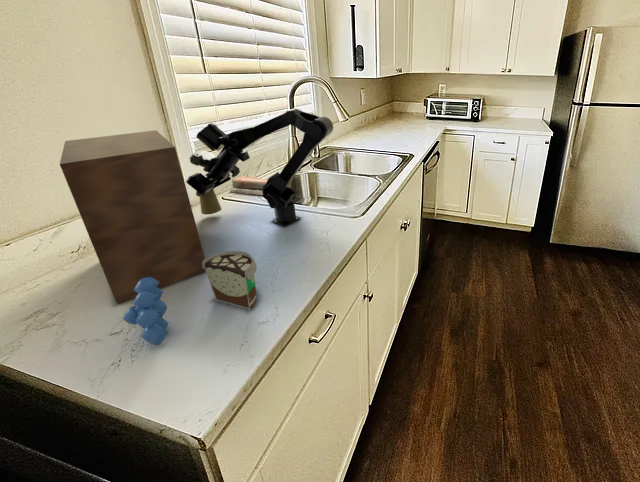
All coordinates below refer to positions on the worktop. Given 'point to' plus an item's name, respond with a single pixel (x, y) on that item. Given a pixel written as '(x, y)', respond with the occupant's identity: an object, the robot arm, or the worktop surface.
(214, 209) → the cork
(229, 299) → the food container
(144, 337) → the grapes
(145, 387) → the worktop surface
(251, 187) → the packaged product
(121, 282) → the cupboard
